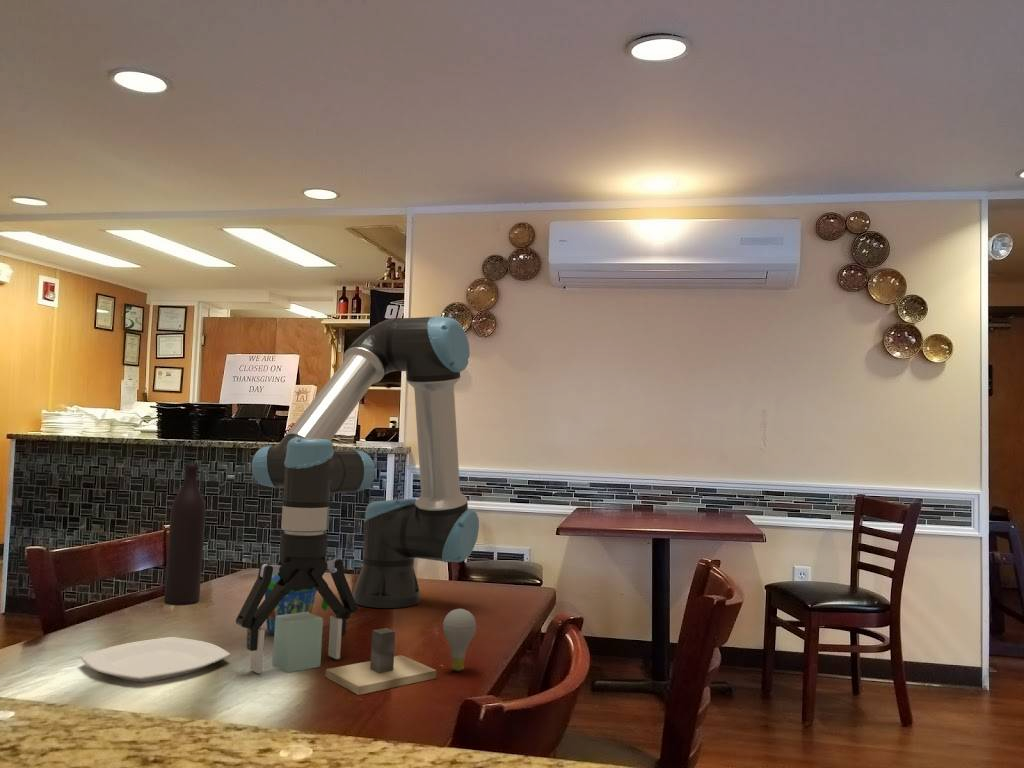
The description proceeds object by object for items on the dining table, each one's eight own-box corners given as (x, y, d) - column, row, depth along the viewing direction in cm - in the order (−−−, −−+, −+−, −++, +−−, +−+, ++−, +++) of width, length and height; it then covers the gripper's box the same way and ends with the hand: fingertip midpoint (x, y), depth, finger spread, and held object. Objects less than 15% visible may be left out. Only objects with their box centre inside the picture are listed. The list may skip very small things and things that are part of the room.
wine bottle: (206, 601, 166) (215, 463, 168) (176, 606, 160) (187, 463, 162) (186, 596, 170) (196, 461, 172) (156, 601, 164) (167, 462, 166)
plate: (134, 696, 107) (135, 682, 108) (61, 669, 118) (62, 656, 118) (246, 665, 124) (247, 653, 124) (173, 644, 134) (174, 632, 134)
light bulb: (440, 665, 127) (443, 604, 127) (473, 666, 127) (476, 605, 128) (440, 676, 121) (443, 612, 122) (474, 676, 122) (477, 613, 122)
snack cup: (318, 621, 153) (321, 570, 153) (337, 634, 144) (340, 579, 144) (238, 629, 144) (242, 575, 145) (253, 643, 135) (257, 585, 136)
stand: (401, 662, 128) (403, 618, 128) (436, 678, 120) (438, 631, 121) (325, 677, 118) (328, 629, 119) (358, 695, 111) (361, 644, 111)
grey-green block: (304, 658, 128) (307, 611, 128) (320, 666, 123) (323, 618, 124) (272, 663, 124) (275, 615, 124) (287, 672, 120) (290, 622, 120)
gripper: (359, 526, 136) (352, 646, 135) (220, 533, 120) (210, 670, 118) (381, 531, 131) (374, 657, 129) (239, 539, 114) (229, 683, 113)
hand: (296, 663), depth 124 cm, fingers open, 13 cm apart
